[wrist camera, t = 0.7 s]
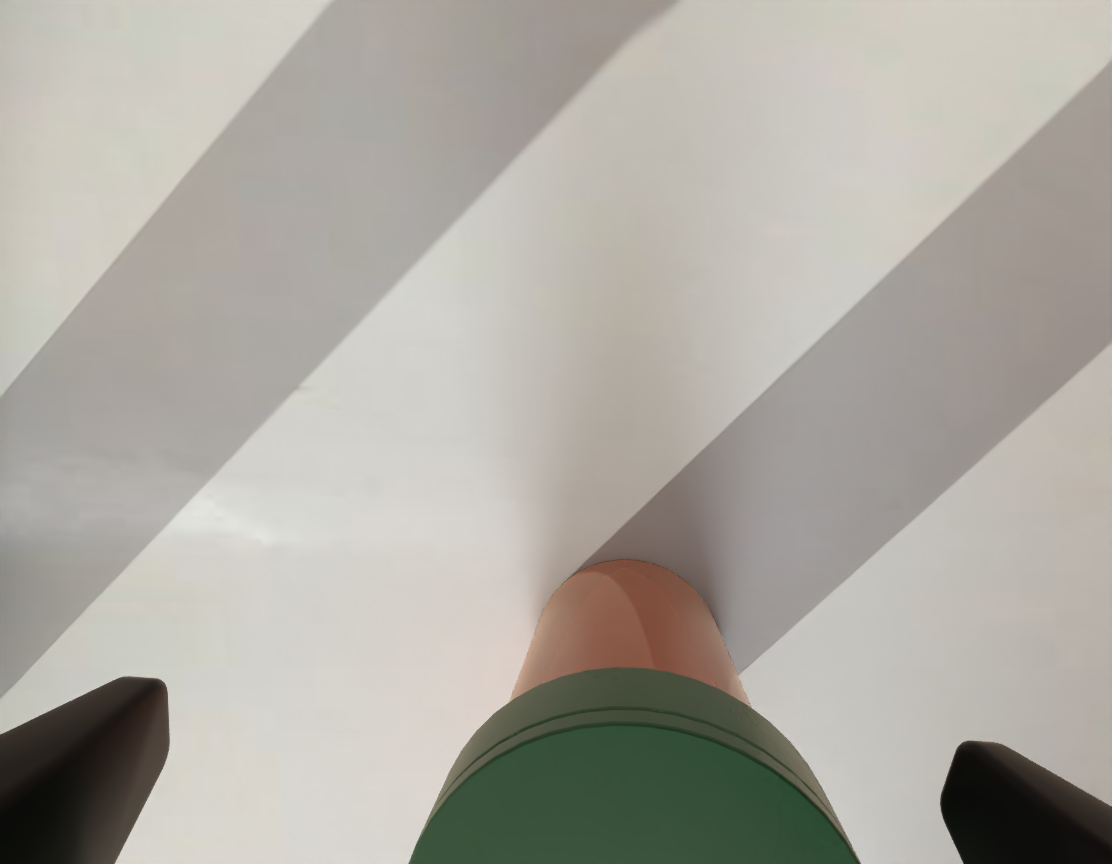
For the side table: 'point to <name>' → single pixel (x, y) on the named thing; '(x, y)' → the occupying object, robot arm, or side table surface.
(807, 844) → the green cylinder
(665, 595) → the jar
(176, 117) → the side table surface
